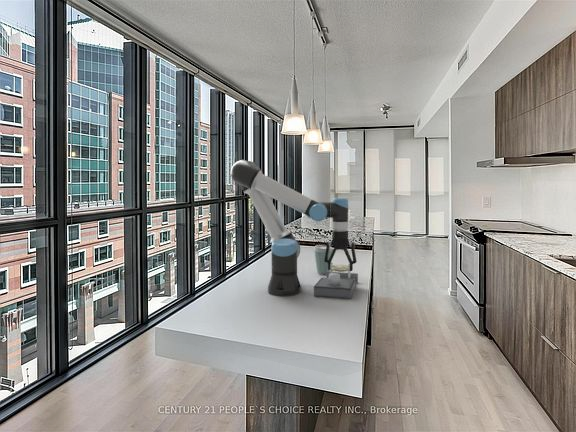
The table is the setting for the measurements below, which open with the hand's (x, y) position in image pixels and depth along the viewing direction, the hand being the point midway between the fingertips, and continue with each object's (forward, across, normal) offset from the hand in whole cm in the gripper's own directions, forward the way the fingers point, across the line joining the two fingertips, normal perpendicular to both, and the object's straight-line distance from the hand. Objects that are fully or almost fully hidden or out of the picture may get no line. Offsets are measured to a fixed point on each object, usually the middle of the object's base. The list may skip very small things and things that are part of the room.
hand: (340, 276), depth 188 cm
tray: (+4, 0, 0) cm, 4 cm away
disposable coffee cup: (+4, +13, -22) cm, 26 cm away
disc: (-4, 0, 0) cm, 4 cm away
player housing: (+4, 0, +14) cm, 14 cm away
